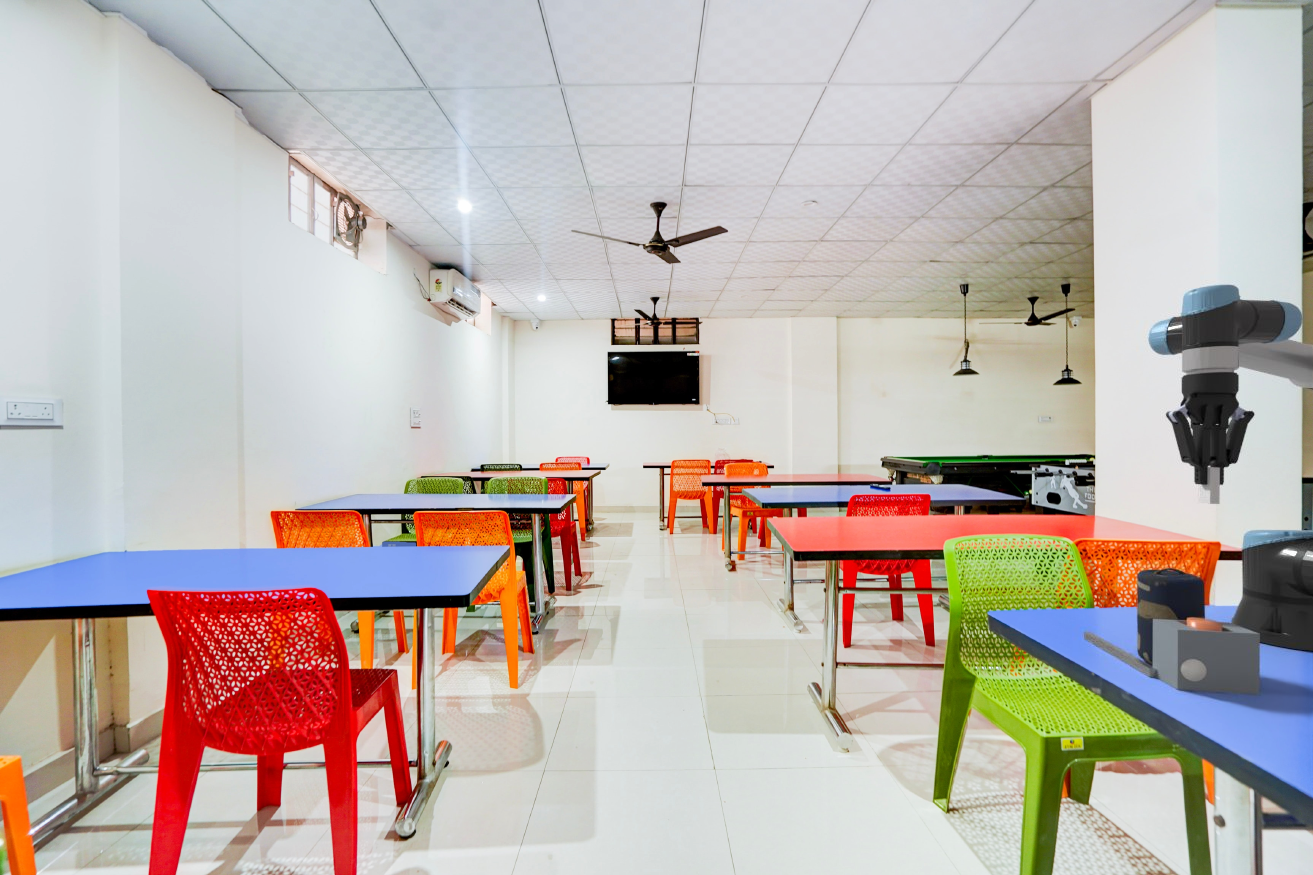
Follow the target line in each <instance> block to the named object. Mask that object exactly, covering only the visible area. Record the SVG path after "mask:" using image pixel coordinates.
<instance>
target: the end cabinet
mask: <svg viewBox="0 0 1313 875" xmlns="http://www.w3.org/2000/svg"><path fill="white" fill-rule="evenodd" d="M1219 622H1220V623H1222V631H1203V630H1197V629H1194V628H1192V627H1190V626H1187V620H1166V619H1153V664H1152V666H1153V667H1154V668H1156V669H1157V678H1156V679H1158V680H1160V681H1162V682H1163V683H1166V685H1169V686H1170V687H1171V688H1173V689H1175V690H1179V691H1194V692H1195V691H1196V692H1206V693H1207V692H1210V693H1222V694H1223V693H1225V694H1238V695H1239V694H1240V695H1241V694H1243V695H1257V696H1259V695H1260V683H1261V682H1260V678H1261V677H1260V676H1261V675H1260V673H1261V672H1260V664H1261V661H1260V660H1261V659H1260V657H1261V652H1260V651H1261V642H1260V634H1259V633H1256V632H1253V631H1251V630H1248V629H1245V628H1243V627H1240V626H1238V625H1235V624H1232V623H1231V622H1230V621H1229V622H1227V621H1219Z"/></svg>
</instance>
